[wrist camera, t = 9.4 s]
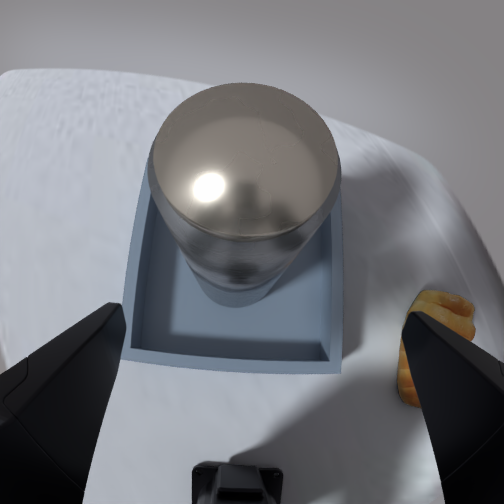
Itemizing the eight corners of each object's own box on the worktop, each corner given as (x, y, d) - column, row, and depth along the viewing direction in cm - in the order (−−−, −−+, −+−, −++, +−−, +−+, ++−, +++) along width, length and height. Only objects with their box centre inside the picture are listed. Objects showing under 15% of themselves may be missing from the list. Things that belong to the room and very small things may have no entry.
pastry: (436, 410, 21) (463, 417, 17) (375, 397, 21) (398, 405, 17) (462, 309, 23) (490, 303, 20) (407, 286, 24) (433, 276, 20)
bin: (326, 369, 21) (341, 373, 18) (131, 356, 20) (117, 358, 18) (327, 190, 25) (339, 173, 22) (155, 177, 24) (147, 157, 21)
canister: (289, 286, 22) (384, 196, 8) (216, 321, 21) (189, 286, 7) (253, 218, 23) (285, 61, 9) (183, 249, 22) (121, 114, 8)
